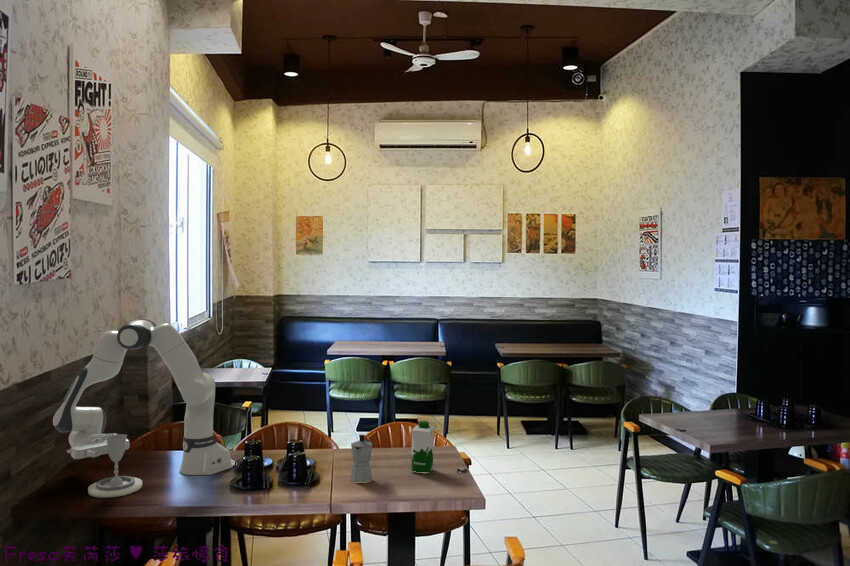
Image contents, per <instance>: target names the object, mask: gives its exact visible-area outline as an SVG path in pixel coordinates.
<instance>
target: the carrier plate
mask: <svg viewBox="0 0 850 566" xmlns="http://www.w3.org/2000/svg"><path fill="white" fill-rule="evenodd" d="M114 477H115V476H110V477H106V478H104V479H99V480H98V481H95V482H94V483H92V484H90V485H89V486H88V488H87V493H88V495H89V496H91V497H94V498H102V499H104V498H106V499H107V498H109V499H110V498H117V497H121V496H127V495H131V494H134V493H136V492H138V491H140V490H141V489H142V488H143V480H142V478H141V479H140V478H138V477H134V476H129V475H118V477H119V478H121V479H122V481H123V483H124V484H123V485H120V486H111V487H109V484H110V481H111V479H112V478H114ZM133 492H134V493H133Z"/></svg>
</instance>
